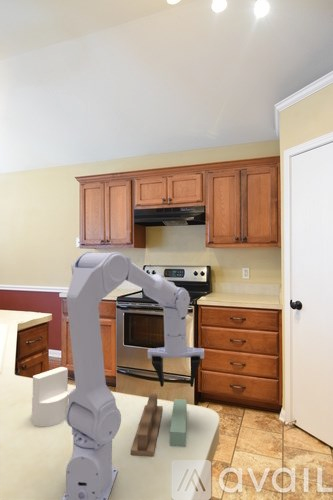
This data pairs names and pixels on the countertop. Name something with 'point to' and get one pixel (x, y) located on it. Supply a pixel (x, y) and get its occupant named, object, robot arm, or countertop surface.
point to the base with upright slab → (50, 397)
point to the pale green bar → (178, 423)
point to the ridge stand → (148, 428)
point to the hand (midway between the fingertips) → (176, 384)
